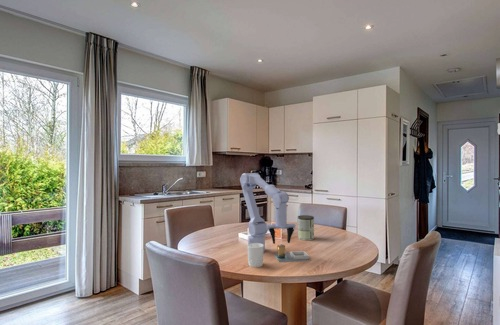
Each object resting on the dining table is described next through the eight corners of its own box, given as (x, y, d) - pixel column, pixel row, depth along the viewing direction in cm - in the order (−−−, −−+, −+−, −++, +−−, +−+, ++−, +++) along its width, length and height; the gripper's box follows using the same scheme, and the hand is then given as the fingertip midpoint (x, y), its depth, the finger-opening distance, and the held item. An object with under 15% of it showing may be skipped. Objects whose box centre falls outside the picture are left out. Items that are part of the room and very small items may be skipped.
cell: (278, 258, 145) (278, 245, 145) (276, 256, 149) (276, 243, 149) (286, 258, 145) (286, 245, 145) (284, 256, 149) (284, 243, 149)
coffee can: (297, 236, 192) (297, 215, 193) (313, 236, 191) (312, 215, 192) (298, 240, 182) (298, 218, 182) (315, 240, 181) (314, 218, 181)
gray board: (279, 264, 139) (279, 259, 139) (273, 255, 153) (273, 250, 153) (311, 262, 142) (311, 257, 142) (302, 253, 156) (302, 249, 156)
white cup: (263, 263, 141) (263, 242, 141) (264, 269, 133) (264, 247, 133) (247, 263, 141) (246, 243, 141) (247, 269, 133) (247, 247, 133)
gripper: (268, 218, 142) (268, 245, 142) (297, 217, 144) (297, 244, 144) (265, 215, 149) (266, 241, 149) (293, 214, 151) (293, 240, 151)
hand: (281, 242), depth 147 cm, fingers open, 7 cm apart
